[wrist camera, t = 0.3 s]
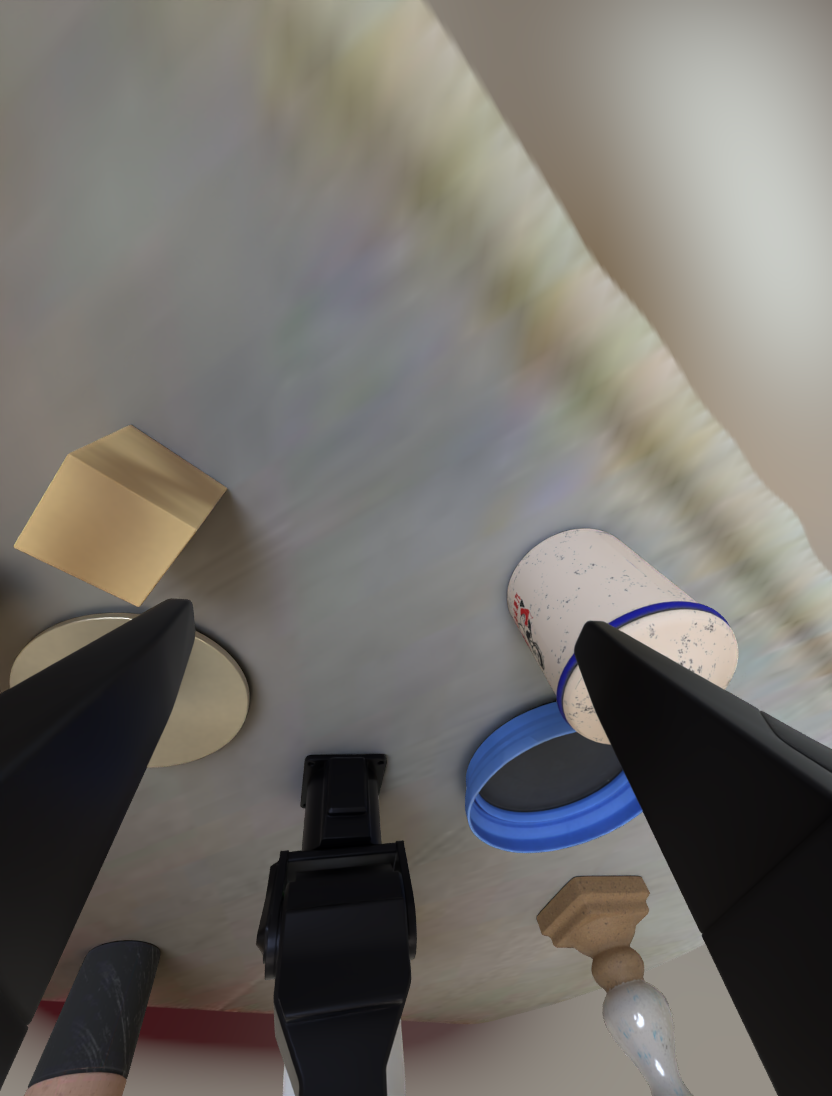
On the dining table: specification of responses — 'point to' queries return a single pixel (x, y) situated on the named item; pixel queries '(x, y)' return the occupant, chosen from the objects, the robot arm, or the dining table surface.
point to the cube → (120, 513)
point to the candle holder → (619, 970)
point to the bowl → (545, 786)
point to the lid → (203, 699)
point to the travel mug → (98, 1023)
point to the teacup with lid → (609, 615)
